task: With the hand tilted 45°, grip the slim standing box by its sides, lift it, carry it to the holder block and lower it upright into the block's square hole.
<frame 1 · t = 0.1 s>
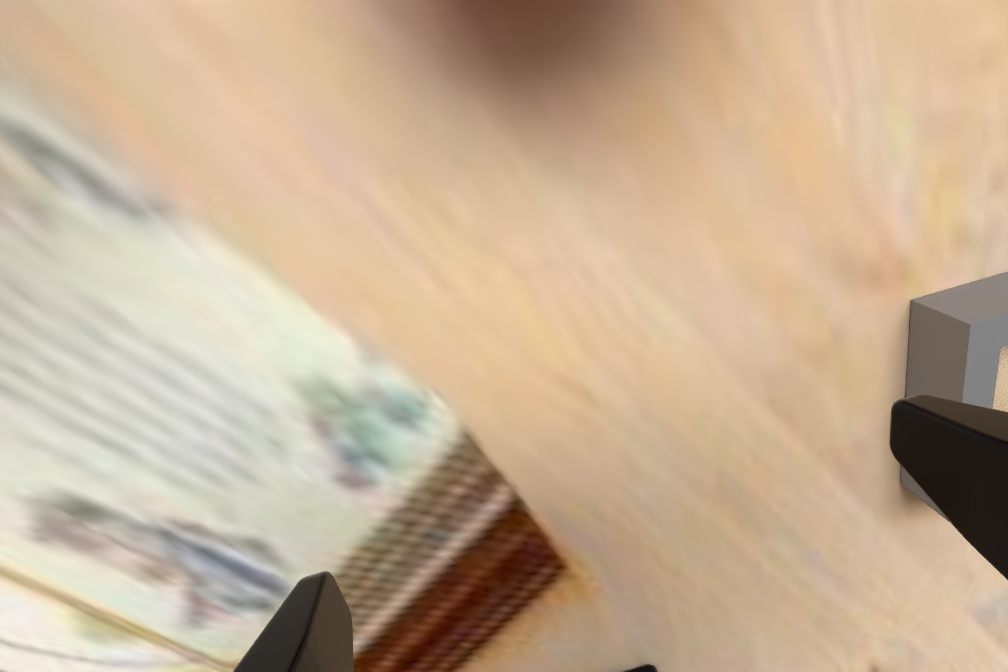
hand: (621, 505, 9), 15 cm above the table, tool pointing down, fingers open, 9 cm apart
holder block: (1005, 368, 28), on the table
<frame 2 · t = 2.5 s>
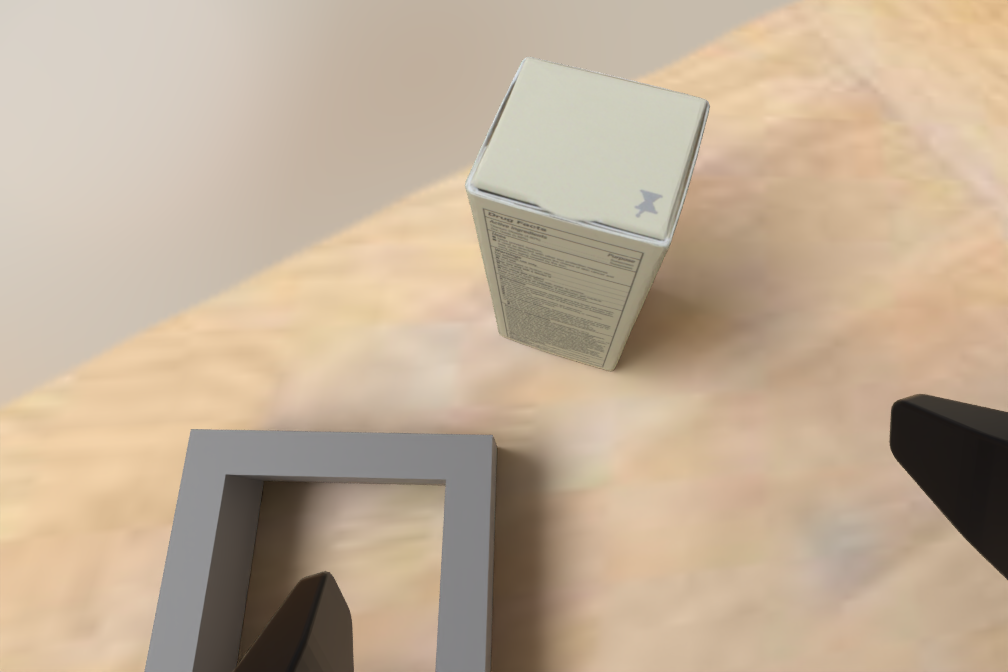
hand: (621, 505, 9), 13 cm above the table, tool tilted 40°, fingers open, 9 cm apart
box: (566, 310, 24), on the table
holder block: (349, 589, 21), on the table
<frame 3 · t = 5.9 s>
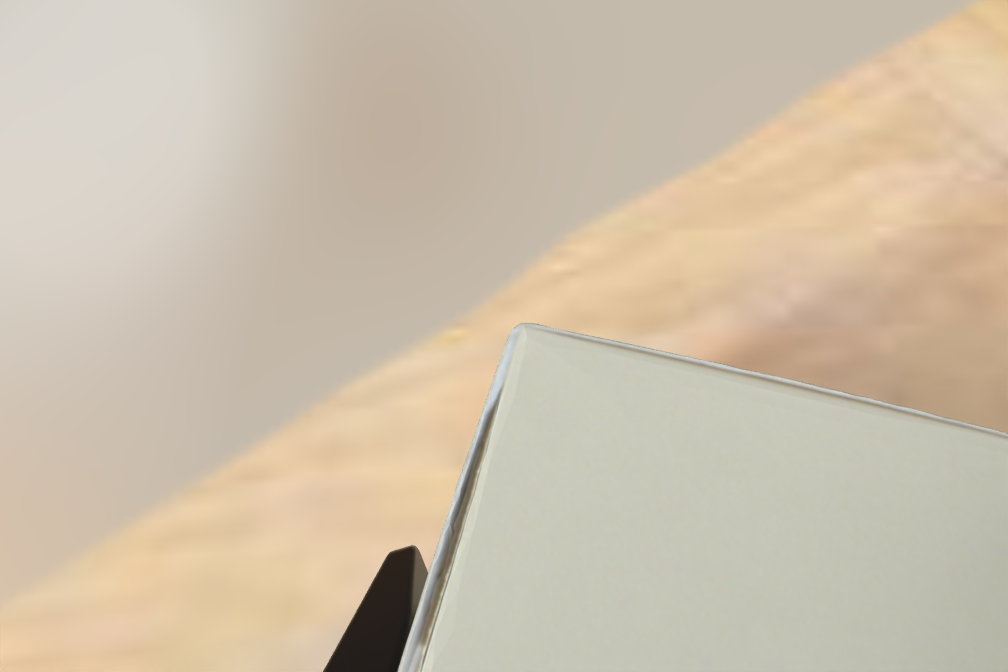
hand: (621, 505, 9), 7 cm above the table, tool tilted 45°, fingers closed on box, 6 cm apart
box: (604, 581, 15), on the table, touching gripper
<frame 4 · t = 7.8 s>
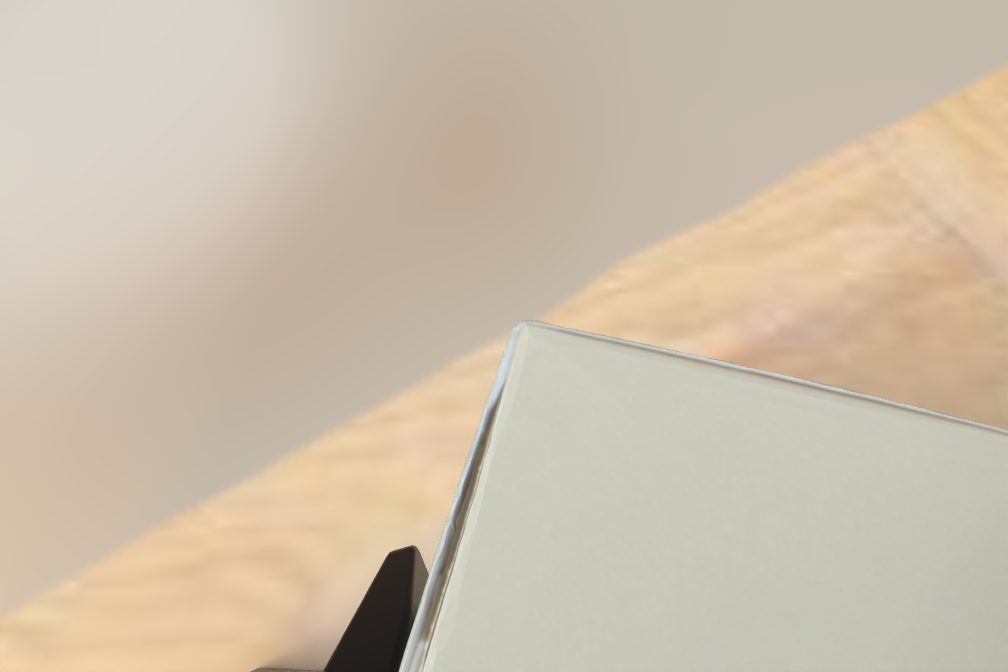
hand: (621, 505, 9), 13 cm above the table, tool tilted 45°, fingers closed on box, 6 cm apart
box: (604, 579, 15), point 6 cm above the table, touching gripper
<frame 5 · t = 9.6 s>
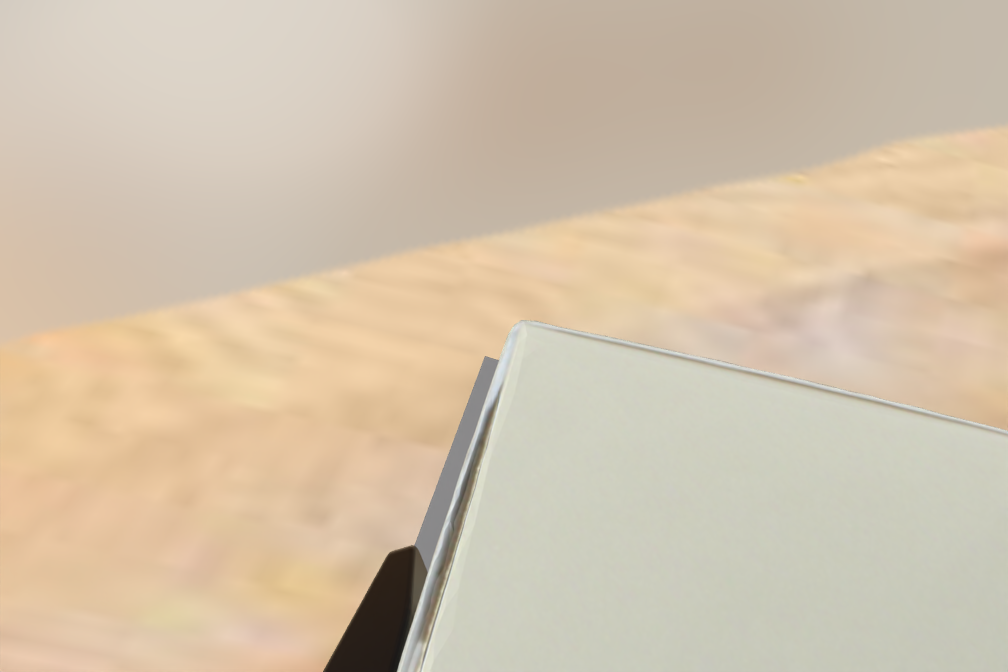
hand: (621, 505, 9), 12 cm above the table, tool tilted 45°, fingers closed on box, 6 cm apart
box: (603, 579, 15), point 6 cm above the table, touching gripper
holder block: (583, 564, 20), on the table
when the fingers open (7 cm above the table, at t = 11.2 s): box stays where it is, resting in holder block.
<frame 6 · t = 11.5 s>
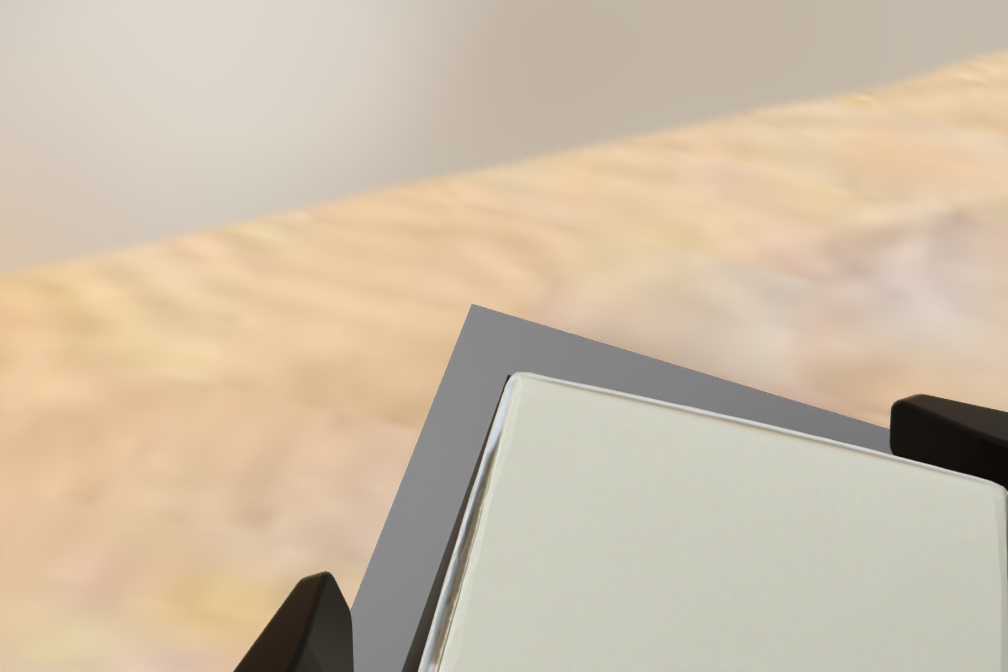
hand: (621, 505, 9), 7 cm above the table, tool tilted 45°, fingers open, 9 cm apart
box: (601, 587, 15), resting in holder block
holder block: (601, 580, 15), on the table
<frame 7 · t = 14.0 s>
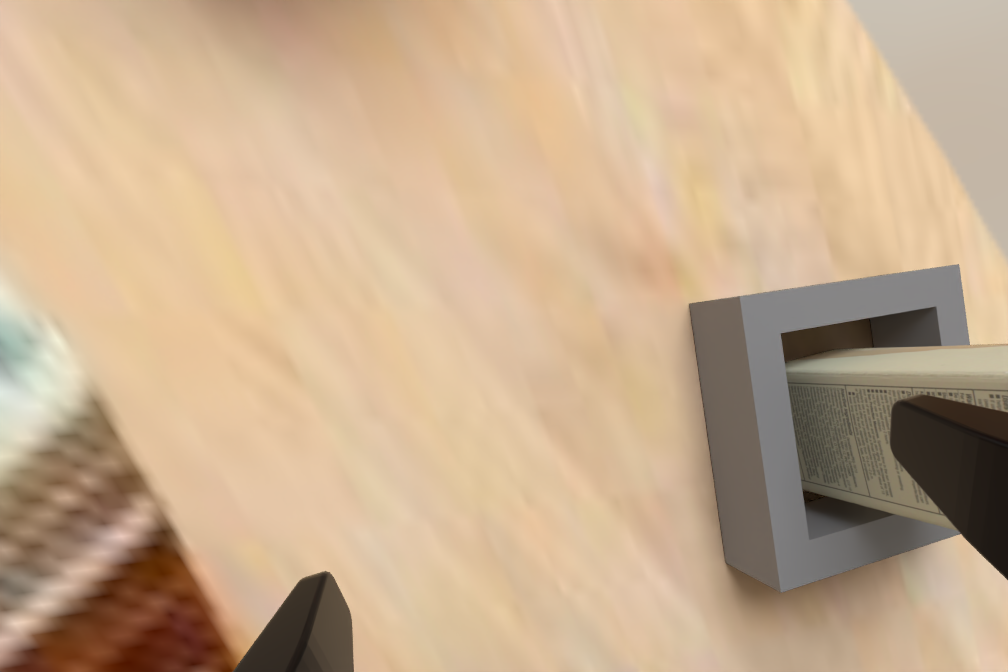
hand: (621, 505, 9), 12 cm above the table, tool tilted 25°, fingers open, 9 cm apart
box: (805, 412, 25), resting in holder block
holder block: (812, 410, 25), on the table
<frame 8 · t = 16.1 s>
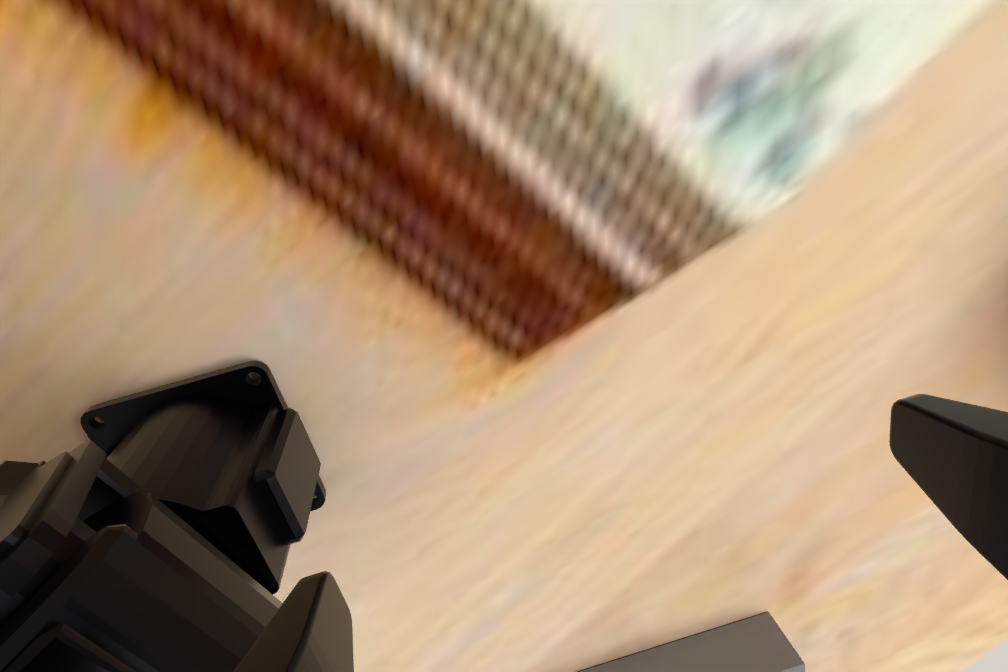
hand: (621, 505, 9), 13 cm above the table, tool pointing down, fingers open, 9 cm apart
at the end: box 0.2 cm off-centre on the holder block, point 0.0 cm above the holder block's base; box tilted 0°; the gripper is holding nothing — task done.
